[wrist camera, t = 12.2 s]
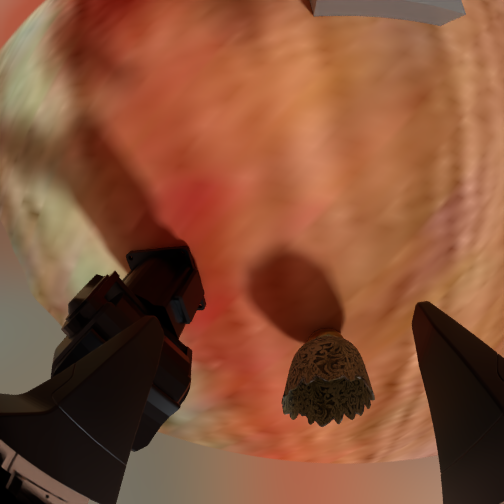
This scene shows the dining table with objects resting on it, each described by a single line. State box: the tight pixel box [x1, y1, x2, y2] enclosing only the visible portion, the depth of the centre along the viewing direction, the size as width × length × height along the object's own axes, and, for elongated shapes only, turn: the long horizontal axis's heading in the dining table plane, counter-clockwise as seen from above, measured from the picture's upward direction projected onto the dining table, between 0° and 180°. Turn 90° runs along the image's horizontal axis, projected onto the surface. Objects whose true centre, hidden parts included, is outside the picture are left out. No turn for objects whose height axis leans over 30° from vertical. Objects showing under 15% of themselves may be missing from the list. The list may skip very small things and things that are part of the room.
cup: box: [282, 328, 375, 427], centre depth 23 cm, size 8×7×8 cm
